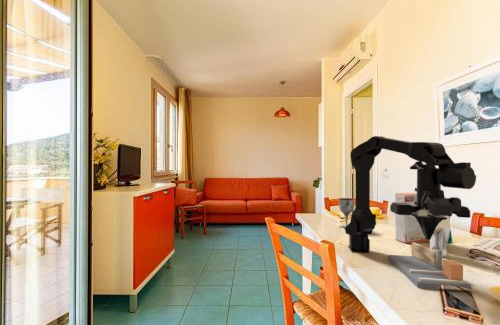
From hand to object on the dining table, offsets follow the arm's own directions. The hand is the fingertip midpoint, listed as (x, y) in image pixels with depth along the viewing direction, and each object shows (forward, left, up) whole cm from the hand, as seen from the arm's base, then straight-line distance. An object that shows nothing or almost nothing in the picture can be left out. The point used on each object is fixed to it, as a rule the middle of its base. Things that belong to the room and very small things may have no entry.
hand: (427, 239), depth 74 cm
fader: (+6, -2, -10) cm, 11 cm away
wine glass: (-10, +59, -12) cm, 61 cm away
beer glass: (+15, +23, -12) cm, 30 cm away
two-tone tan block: (+4, +11, -10) cm, 16 cm away
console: (+1, +5, -12) cm, 13 cm away
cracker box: (+14, +40, -12) cm, 44 cm away
